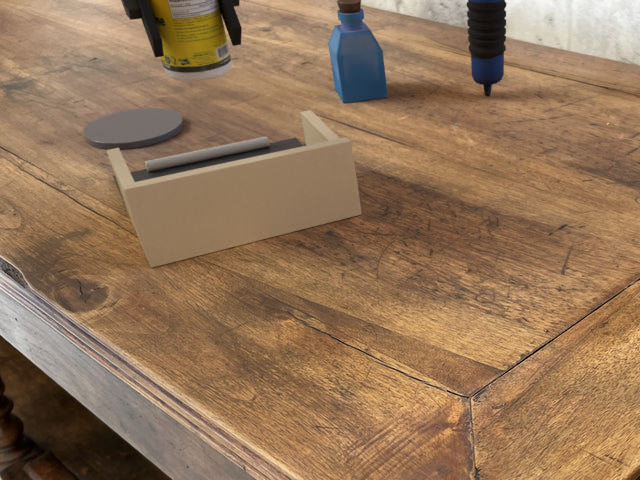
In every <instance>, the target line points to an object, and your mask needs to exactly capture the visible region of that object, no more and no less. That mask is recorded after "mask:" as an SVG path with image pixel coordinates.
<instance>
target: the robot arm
mask: <svg viewBox="0 0 640 480" xmlns="http://www.w3.org/2000/svg"><path fill="white" fill-rule="evenodd" d="M120 2H121V4H122V7H123V10H124V12H125V15H126V16H127V17H128V19H129V20H130V21H132V20H139V19H140V20H141V22H142V25H143V28H144V31H145V33H146V36H147V38H148V39H147V40H148V42H149V44H150V47H151V51H152V52H153V55H154V58H161V57H162V56H164V53H163V45H162V38H161V35H160V33H159V30H158V27H157V24H156V22H155V19H154V16H153V13H152V10H151V8H150V5H149V2H148V0H120ZM218 2H219V6H220V11H221V15H222V20H223V24H224V27H225V28H226V31H227V34H228V36H229V38H230V39H229V40H230V42H231V45H232V46H233V47H235V46H241V45H242V30H243V28H242V25H241V22H240V20H239V17H238V16H239V15H238V14H237V11H236V9H235V7H239V6H240V0H218Z"/></svg>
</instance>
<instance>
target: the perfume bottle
mask: <svg viewBox="0 0 640 480" xmlns="http://www.w3.org/2000/svg"><path fill="white" fill-rule="evenodd" d="M336 4H337V6H338V9H337V11H336V13H337V18H338V21H339V22H340V24H337V25H334V26H333V29H332V32H331V35H330V37H329V40H328V43H327V45H328V53H329V59H330V65H331V71H332V79H333V85H334V91H336V93H337V95H338V97H339V98H340V100H341V102H342V103H343V104H348V103H349V104H350V103H354V102H364V101H370V100H377V99H385V98H388V97H389V95H388V87H387V78H386V77H387V76H386V70H385V69H386V67H385V60H384V51H383V49H382V47H381V45H380V43H379V42H378V40H377V38H376V37H375V35H374V33H373V32H372V30H371V28H369V26H368V25H367V24H366V23H365V22H364V19H365V12H364V9H363V8H362V0H336Z"/></svg>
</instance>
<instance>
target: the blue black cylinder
mask: <svg viewBox="0 0 640 480" xmlns="http://www.w3.org/2000/svg"><path fill="white" fill-rule="evenodd" d="M466 7H467V11H466V17H467V18H468V19H467V21H466V22H467V23H466V25H467V27H468V28H467V35H468V37H467V41H468V43H469V45H468V52H469V53H470V62H471V64H470V65H471V66H470V67H471V76H472V79H473V82H475V84H478V85H480V86H481V85H482V86H483V93H484V96H486V97H490V96H491V95H492V88H493V85H496V84H498V83H500V82H501V81H502V80H503V78H504V75H505V74H504V73H505V52H506V49H507V47H506V45H505V42H506V41H507V36H506V34H507V29H506V26H507V19H506V17H507V11H506V8H507V2H506V0H467V2H466Z"/></svg>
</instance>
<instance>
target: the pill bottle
mask: <svg viewBox="0 0 640 480" xmlns="http://www.w3.org/2000/svg"><path fill="white" fill-rule="evenodd" d="M148 2H149V5H150V8H151V10H152V13H153V16H154V19H155V22H156V24H157V27H158V30H159V33H160V35H161V38H162V45H163V53H164V56H162V57H160V60H161V63H162V66H163V69H164V72H165V74H166V75H167V76H168V77H169V78H170V79H173V80H175V81H181V82H199V81H200V82H201V81H208V80H214V79H217V78H219V77H222V76H224V75H227V74H228V73H229V72H230V71H231V69H232V66H233V63H232V56H231V52H230V51H231V50H230V47H229V43H228V39H227V34H226V30H225V23H224V20H223V17H222V15H221V11H220V6H219V2H218V0H148Z"/></svg>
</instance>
